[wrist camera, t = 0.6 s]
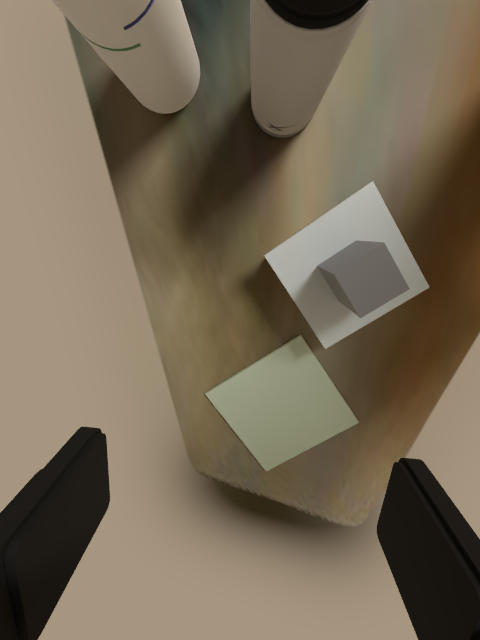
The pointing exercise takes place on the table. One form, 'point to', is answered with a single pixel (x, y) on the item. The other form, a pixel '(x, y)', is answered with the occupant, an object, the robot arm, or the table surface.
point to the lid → (348, 266)
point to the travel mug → (297, 57)
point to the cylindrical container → (142, 47)
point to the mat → (282, 404)
